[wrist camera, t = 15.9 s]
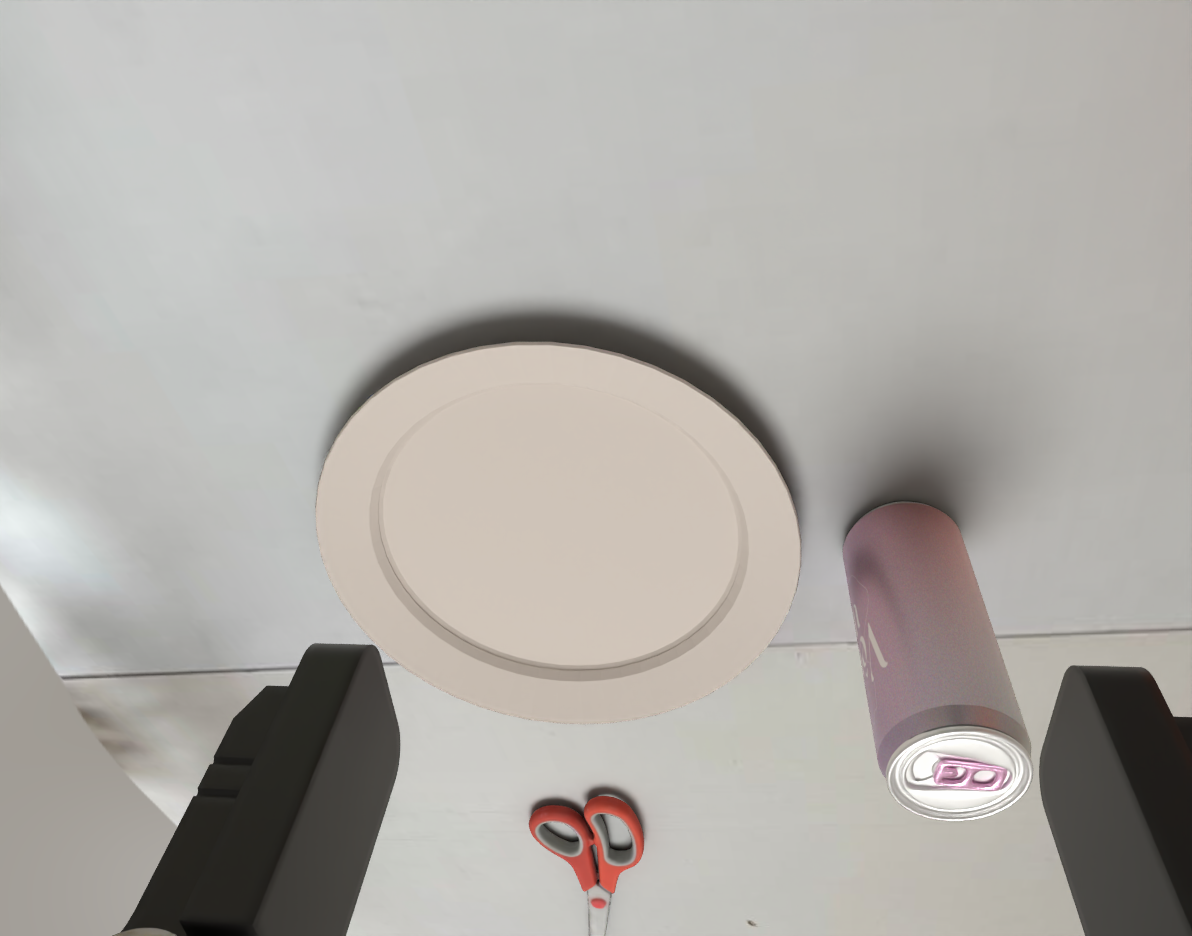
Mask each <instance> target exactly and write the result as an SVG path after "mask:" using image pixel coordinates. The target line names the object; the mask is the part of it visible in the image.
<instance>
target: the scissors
mask: <svg viewBox="0 0 1192 936" xmlns="http://www.w3.org/2000/svg"><path fill="white" fill-rule="evenodd" d="M600 814H607V815H612V816H615V817H617V818H619V819H620V820H621V821H622V822H623V823H624V824H625V826H626V827H627V829H628V831H629V833H630V835H631V839H632V848H631V849H629V850H625V851H617V850H613V849H611V848H610V847H609V839H608V834H607V830H606V827H605V824H604V822H603V820H602V818H601V816H600ZM584 816H585V819H586V821H587V822H588V824H589V826H590V828H591V829H592V831H593V832H592V831H591V830H590V829H589V827H588V824H587V823H586V821H585V819H584V818H583V817H582V816H581V815H580V814H579V813H577V812H576V811H575V810H573V809H571V808H568V807H565V806H560V805H548V806H544V807H541V808H539V809H537V810H536V811H535V812H534V813H533V814H532V816H531V818H530V820H529V828H530V831H531V833H532V835H533V837H534V838H535V839H536V840H537V841H538V842H539V843H540V844H541V845H542V846H543V847H545V848H546V849H548V850H549V851H551V852H552V853H554V854H556V855H557V856H559V857H561V858H563V859H564V860H566V861H567V862H568V863H569V864H570V865H571V866H572V867H573V869H574V871H575V873H576V875H577V877H578V880H579V882H580V884H581V887H582V889H583V891H584V892H585V891H587V893H588V906H589V936H605V932H606V926H607V919H608V911H609V905H610V898H611V893H614V892H615V888H616V883H617V879H618V876H619V874H620V873H621V872H622V871H624V870H626V869H628V868H631V867H633V866H635V865H636V864H637V863H638V862H639V861H640V859H641V857H642V854H643V850H644V837H643V832H642V828H641V825H640V822H639V820H638V818H637V816H636V815H635V813H634V812H633V810H632V809H631V808H630V806H629V805H627V804H626V803H625V802H623V801H621V800H619V799H617V798H614V797H609V796H597V797H594V798H592V799H591V800H589V801H588V802H587V804H586V806H585V808H584ZM548 822H558V823H562V824H565V825H567V826H569V827H570V828H572V829H573V830H574V831H575V832H576V834H577V835H578V838H579V841H577V842H569V841H566V840H563V839H561V838H559V837H557V836H556V835H554V834H552V833H551V832H550V831H548V830H547V829H546V828H545V827H544V826H543V824H545V823H548ZM593 844H595V845H596V846H597V856H598V872H597V869H596V866H595V861H594V856H593V851H592V847H591V845H593ZM597 879H599V881H598V882H597Z"/></svg>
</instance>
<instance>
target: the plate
mask: <svg viewBox="0 0 1192 936" xmlns="http://www.w3.org/2000/svg"><path fill="white" fill-rule="evenodd" d="M315 507H316V531H317V537H318V542H319V547H320V552H321V557H322V559H323V562H324V565H325V568H326V571H327V574H328V576H329V579H330V581H331V583H332V585H333V587H334V589H335V591H336V593H337V595H338V596H339V598H340V600H341V602H342V603H343V605H344V606H345V607H346V609H347V610H348V612H349V613H350V615H351V616H352V618H353V619H354V621H355V622H356V623H357V624H358V625H359V626H360V627H361V629H362V630H363V631H364V632H365V633H366V634H367V636H368V637H369V638H370V639H371V640H372V641H373V642H374V643H375V644H376V645H378V646H379V647H380V648H381V649H382V650H383V651H384V652H385V653H386V654H387V655H388V656H389V657H391V658H392V659H393V660H395V661H396V662H397V663H399V664H400V665H401V666H403V667H404V668H405V669H407V670H408V671H409V672H411V673H412V674H414V675H416V676H417V677H419V678H421V679H422V680H424V681H425V682H427V683H429V684H430V685H432V686H434V687H436V688H438V689H440V690H442V691H444V692H446V693H448V694H450V695H452V696H454V697H456V698H459V699H461V700H464V701H466V702H469V703H471V704H474V705H476V706H479V707H482V708H485V709H489V710H492V711H495V712H499V713H502V714H505V715H510V716H515V717H520V718H524V719H529V720H536V721H544V722H552V723H564V724H601V723H614V722H622V721H629V720H636V719H640V718H645V717H649V716H653V715H658V714H662V713H665V712H668V711H671V710H673V709H676V708H679V707H682V706H685V705H687V704H689V703H692V702H694V701H696V700H698V699H700V698H703V697H705V696H707V695H709V694H710V693H712V692H714V691H715V690H717V689H719V688H720V687H722V686H724V685H725V684H727V683H728V682H730V681H731V680H732V679H734V678H735V677H736V676H737V675H739V674H740V673H741V672H743V671H744V670H745V669H746V668H748V667H749V665H750V664H751V663H752V662H753V661H754V660H755V659H756V658H757V657H758V656H759V655H760V654H761V653H762V652H763V651H764V650H765V649H766V647H767V646H768V645H769V643H770V642H771V641H772V639H773V638H774V636H775V635H776V634H777V632H778V631H779V629H780V627H781V625H782V623H783V621H784V619H785V617H786V616H787V614H788V612H789V610H790V607H791V604H792V601H793V598H794V595H795V592H796V590H797V586H798V580H799V574H800V568H801V535H800V529H799V523H798V517H797V513H796V510H795V507H794V504H793V501H792V498H791V495H790V492H789V489H788V487H787V485H786V483H785V481H784V479H783V477H782V475H781V473H780V472H779V470H778V468H777V466H776V464H775V463H774V461H773V460H772V458H771V457H770V456H769V454H768V453H767V451H766V450H765V449H764V447H763V446H762V444H761V443H760V442H759V440H758V439H757V438H756V437H755V436H754V435H753V434H752V433H751V432H750V431H749V430H748V429H747V428H746V427H745V425H744V424H743V423H742V422H741V421H740V420H739V419H738V418H737V417H736V416H734V415H733V414H732V413H731V412H729V411H728V410H727V409H726V408H725V407H723V406H722V405H721V404H720V403H718V402H717V401H716V400H715V399H714V398H712V397H711V396H709V395H707V394H706V393H704V392H703V391H701V390H700V389H698V388H696V387H695V386H693V385H692V384H690V383H689V382H687V381H685V380H684V379H681V378H679V377H677V376H675V375H673V374H671V373H669V372H667V371H665V370H663V369H661V368H659V367H656V366H654V365H652V364H649V363H646V362H643V361H640V360H637V359H635V358H632V357H629V356H626V355H623V354H620V353H616V352H611V351H607V350H602V349H598V348H593V347H589V346H584V345H575V344H566V343H557V342H510V343H502V344H493V345H485V346H479V347H475V348H471V349H467V350H463V351H459V352H454V353H450V354H447V355H445V356H442V357H440V358H437V359H434V360H432V361H429V362H427V363H424V364H421V365H419V366H417V367H415V368H414V369H412V370H410V371H408V372H406V373H404V374H403V375H401V376H399V377H397V378H395V379H393V380H392V381H391V382H389V383H388V384H387V385H385V386H384V387H383V388H381V389H380V390H379V391H377V392H376V393H375V394H373V395H372V396H371V397H370V398H369V399H368V400H367V401H366V402H365V403H364V404H363V405H362V406H361V407H360V408H359V409H358V410H357V411H356V412H355V413H354V414H353V415H352V416H351V417H350V419H349V420H348V421H347V423H346V424H345V426H344V427H343V428H342V430H341V431H340V433H339V434H338V435H337V437H336V439H335V441H334V443H333V445H332V447H331V449H330V451H329V453H328V455H327V457H326V459H325V462H324V466H323V469H322V472H321V476H320V479H319V482H318V490H317V498H316V506H315Z"/></svg>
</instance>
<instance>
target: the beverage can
mask: <svg viewBox="0 0 1192 936" xmlns="http://www.w3.org/2000/svg"><path fill="white" fill-rule="evenodd" d="M843 559H844V565H845V571H846V577H847V583H848V589H849V595H850V601H851V606H852V612H853V618H854V624H855V630H856V636H857V642H858V647H859V653H860V659H861V665H862V671H863V677H864V683H865V688H866V694H867V700H868V706H869V712H870V718H871V724H872V729H873V735H874V741H875V747H876V753H877V759H878V764H879V767H880V770H881V772H882V774H883V775H884V777H885V778H886V783H887V787H888V789H889V791H890V793H891V795H892V796H893V798H894V799H895V800H896V801H897V802H898V803H899V804H900V805H901V806H903V807H904V808H905V809H907V810H909V811H911V812H912V813H915V814H917V815H920V816H923V817H926V818H930V819H935V820H941V821H968V820H975V819H980V818H984V817H987V816H991V815H993V814H996V813H998V812H1001V811H1003V810H1005V809H1007V808H1008V807H1010V806H1011V805H1013V804H1014V803H1016V802H1017V801H1018V800H1019V799H1020V798H1021V797H1022V796H1023V795H1024V794H1025V793H1026V791H1027V790H1028V788H1029V786H1030V784H1031V782H1032V778H1033V764H1032V761H1031V742H1030V739H1029V736H1028V733H1027V730H1026V727H1025V724H1024V721H1023V718H1022V715H1021V712H1020V709H1019V706H1018V703H1017V700H1016V697H1015V694H1014V691H1013V688H1012V685H1011V682H1010V679H1009V676H1008V673H1007V670H1006V667H1005V664H1004V661H1003V658H1002V655H1001V652H1000V649H999V646H998V643H997V640H996V637H995V634H994V631H993V628H992V625H991V622H990V619H989V616H988V613H987V610H986V607H985V604H984V601H983V598H982V595H981V592H980V589H979V586H978V583H977V580H976V577H975V574H974V571H973V568H972V565H971V562H970V559H969V556H968V553H967V550H966V547H965V544H964V541H963V538H962V535H961V532H960V530H959V528H958V526H957V525H956V524H955V522H954V521H953V520H952V519H951V518H950V517H949V516H948V515H946V514H945V513H943V512H942V511H940V510H938V509H936V508H933V507H931V506H928V505H926V504H922V503H917V502H907V501H904V502H894V503H889V504H885V505H882V506H879V507H877V508H875V509H873V510H871V511H870V512H868V513H867V514H865V515H864V516H863V517H862V518H860V519H859V520H858V521H857V523H856V524H855V525H854V526H853V527H852V529H851V530H850V532H849V533H848V535H847V537H846V539H845V542H844V546H843Z"/></svg>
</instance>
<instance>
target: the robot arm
mask: <svg viewBox="0 0 1192 936" xmlns="http://www.w3.org/2000/svg"><path fill="white" fill-rule="evenodd" d="M399 758H400V732H399V726H398V722H397V718H396V714H395V710H394V706H393V703H392V699H391V695H390V691H389V687H388V683H387V679H386V676H385V672H384V668H383V664H382V660H381V657H380V653H379V651H378V649H377V648H376V647H375V646H374V645H357V644H318V643H314V644H312V645H311V646H310V647H309V648H308V649H307V650H306V652H305V653H304V655H303V657H302V659H301V662H300V664H299V666H298V668H297V670H296V672H295V674H294V676H293V679H292V681H291V683H290V685H289V686H266V687H265V688H264V689H263V690H262V691H261V692H260V693H259V694H258V695H257V696H256V697H255V698H254V699H253V700H252V701H251V702H250V703H249V704H248V705H247V706H246V707H245V708H244V709H243V710H242V711H241V712H240V713H239V714H237V715H236V716H235V717H234V718H233V720H232V722H231V724H230V726H229V728H228V730H227V732H226V734H225V736H224V738H223V740H222V742H221V744H220V746H219V748H218V749H217V751H216V753H215V755H214V763H213V764H210V765H209V767H208V769H207V771H206V773H205V775H204V777H203V779H202V781H201V783H200V785H199V786H198V794H197V796H193V798H192V800H191V802H190V804H189V806H188V808H187V810H186V812H185V814H184V816H183V818H182V820H181V822H180V823H179V825H178V827H177V829H176V831H175V833H174V835H173V837H172V839H171V841H170V843H169V845H168V847H167V849H166V851H165V853H164V855H163V857H162V859H161V860H160V863H159V864H158V866H157V868H156V870H155V872H154V874H153V876H152V878H151V880H150V882H149V884H148V886H147V888H146V890H145V892H144V894H143V896H142V898H141V899H140V901H139V904H138V905H137V907H136V909H135V911H134V913H133V915H132V916H131V918H130V920H129V921H128V923H127V925H126V926H125V927H124V929H123V930H122V931H121V932H120V933H118V934H115V935H113V936H346V933H347V930H348V927H349V924H350V921H351V918H352V914H353V911H354V908H355V905H356V902H357V899H358V896H359V893H360V889H361V886H362V883H363V880H364V877H365V874H366V871H367V867H368V864H369V861H370V858H371V855H372V852H373V849H374V845H375V842H376V839H377V836H378V833H379V830H380V827H381V824H382V820H383V817H384V814H385V811H386V808H387V805H388V802H389V798H390V795H391V792H392V789H393V786H394V783H395V779H396V776H397V771H398V765H399ZM1039 778H1040V790H1041V796H1042V801H1043V806H1044V809H1045V813H1046V816H1047V819H1048V822H1049V825H1050V828H1051V831H1052V834H1053V837H1054V840H1055V844H1056V847H1057V850H1058V853H1059V856H1060V859H1061V862H1062V865H1063V868H1064V871H1065V874H1066V877H1067V881H1068V884H1069V887H1070V890H1071V893H1072V896H1073V899H1074V902H1075V905H1076V908H1077V911H1078V914H1079V918H1080V921H1081V924H1082V927H1083V930H1084V933H1085V936H1192V717H1173V715H1172V713H1171V711H1170V709H1169V707H1168V705H1167V703H1166V701H1165V699H1164V697H1163V695H1162V693H1161V691H1160V689H1159V687H1158V685H1157V683H1156V681H1155V680H1154V678H1153V676H1152V675H1151V674H1150V672H1149V671H1147V670H1146V669H1145V668H1142V667H1110V666H1070V667H1069V668H1068V669H1067V670H1066V672H1065V674H1064V677H1063V680H1062V683H1061V687H1060V690H1059V693H1058V697H1057V700H1056V704H1055V707H1054V710H1053V714H1052V717H1051V721H1050V724H1049V727H1048V731H1047V734H1046V737H1045V741H1044V744H1043V748H1042V751H1041V756H1040V766H1039Z"/></svg>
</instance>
